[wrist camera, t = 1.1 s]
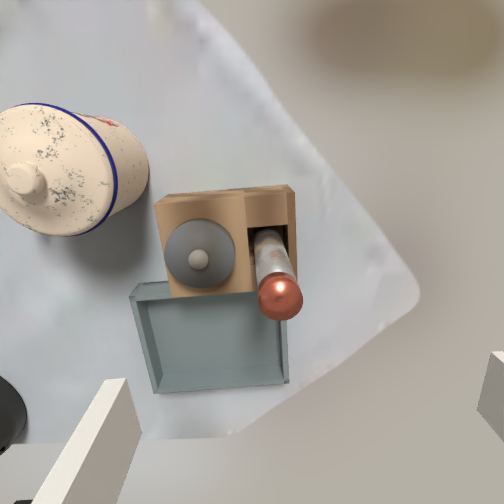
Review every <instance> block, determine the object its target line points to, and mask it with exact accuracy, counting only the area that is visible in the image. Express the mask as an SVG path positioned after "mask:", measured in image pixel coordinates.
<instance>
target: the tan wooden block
mask: <svg viewBox="0 0 504 504" xmlns="http://www.w3.org/2000/svg"><path fill="white" fill-rule="evenodd" d="M154 209H155V214H156V219H157V224H158V229H159V235H160V240H161V245H162V250H163V255H164V260H165V265H166V270H167V275H168V280H169V285H170V290H171V295H172V298H177V297H190V296H202V295H214V294H227V293H239V292H252V291H258V290H257V277H256V265H255V252H254V239H253V229H254V227H262V226H274V225H276V226H277V228H278V230H279V233H280V236H281V238H282V241H283V244H284V247H285V249H286V252H287V255H288V258H289V260H290V263H291V266H292V269H293V271H294V274H295V277H296V280H297V250H296V215H295V192H294V191H293V190H292V189H291V188H290V187H289V186H288V185H277V186H265V187H253V188H241V189H229V190H217V191H205V192H193V193H181V194H169V195H167V196H165V197H164V198H162V199H161V200H159V201H158V202H157V203H155V204H154Z"/></svg>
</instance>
